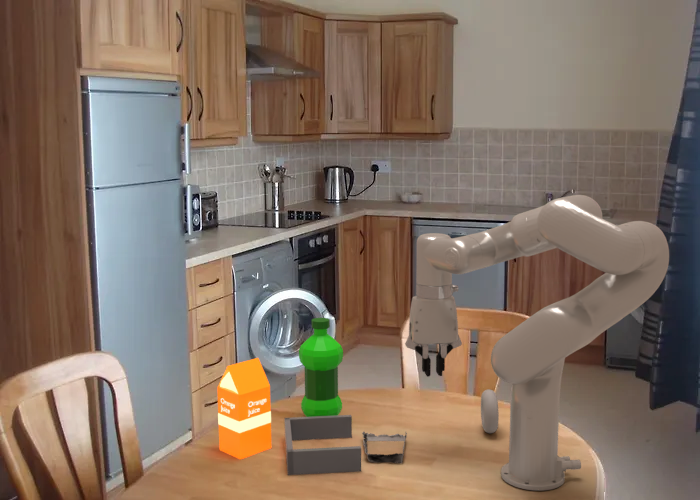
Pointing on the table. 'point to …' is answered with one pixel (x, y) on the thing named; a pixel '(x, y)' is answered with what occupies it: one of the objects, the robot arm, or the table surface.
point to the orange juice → (244, 410)
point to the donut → (489, 411)
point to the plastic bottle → (321, 371)
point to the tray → (320, 457)
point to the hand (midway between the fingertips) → (433, 373)
